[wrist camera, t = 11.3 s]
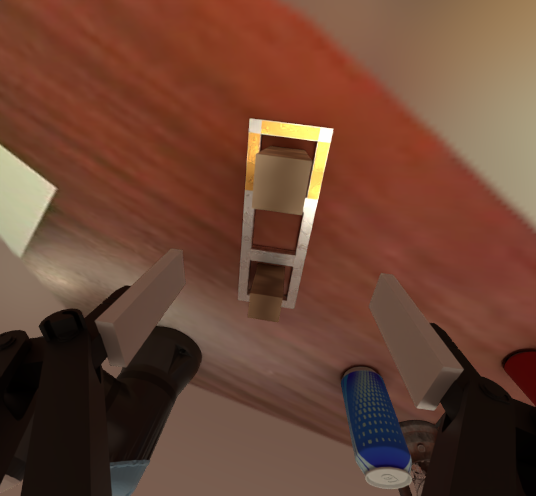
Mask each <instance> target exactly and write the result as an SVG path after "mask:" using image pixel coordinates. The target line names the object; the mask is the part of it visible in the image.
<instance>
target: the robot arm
mask: <svg viewBox="0 0 536 496" xmlns="http://www.w3.org/2000/svg"><path fill="white" fill-rule="evenodd" d="M185 284H186V283H185V273H184V262H183V251H182V250H179V249H170V250H169V251H168V252H167V253H166V254H165V255H164V256H163V257H162V258H161V259H160V260H159V261H158V262H156V263H155V264H154V265H153V266H152V267H151V268H150V269H149V270H148V271H147V272H146V273H145V274H144V275H143V276H142V277H141V278H140V279H139V280H137V281H136V282H135V283H134V284H133V285H132V286H124V287H122V288H120V289H118V290H116V291H115V292H114V293H113V294H111V295H110V296H109V297H108V299H106V300H105V301H103V302H102V304H100V305H99V306H98V307H97V308H96V309H94V310H93V311H92V312H91V313H90V314H89V315H88V316H87V317H85V318H84V317H83V314H82V312H81V311H80V310H78V309H66V310H61V311H59V312H56V313H53V314H52V315H50V316H48V317H46V318H45V319H44V320H43V321H42V322H41V323H40V325H39V328H40V330H41V332H42V334H43V336H41V337H38V338H30V339H29V337H28V335H27V334H26V332H25V331H21V330H15V331H9V332H5V333H3V334H0V493H2V492H4V491H6V490H8V489H11V488H13V487H15V486H17V485H18V484H19V483H20V482H21V481H22V479H23V478H24V479H23V485H22V491H21V496H130V495H131V494H132V493H133V492H134V490H135V489H136V487H137V485H138V483H139V481H140V479H141V477H142V475H143V473H144V471H145V469H146V467H147V466H148V465H149V462H150V458H151V455H152V453H153V451H154V449H155V446H156V444H157V442H158V440H159V437H160V435H161V433H162V430H163V428H164V426H165V423H166V421H167V419H168V416H169V414H170V412H171V410H172V407H173V405H174V403H175V401H176V398H177V396H178V395H179V394H180V393H181V391H182V390H183V389H184V387H186V385H187V384H188V383H189V382H190V380H191V379H192V378H193V377H194V376H195V374H196V373H197V371H198V368H199V366H200V363H201V359H202V357H201V352H200V350H199V348H198V346H197V345H196V344H195V343H194V342H193V341H192V340H191V339H190V338H189V337H187V336H186V335H184V334H182V333H181V332H178V331H176V330H173V329H170V328H165V327H155V326H156V325H157V323H158V322H159V321H160V319H161V318H162V316H163V315H164V313H165V312H166V311H167V309H168V308H169V306H170V305H171V304H172V302H173V301H174V299H175V298H176V297H177V295H178V294H179V292H180V291H181V289H182V288H183V287H184V285H185ZM369 308H370V310H371V312H372V314H373V316H374V319H375V321H376V323H377V325H378V327H379V329H380V331H381V334H382V336H383V338H384V340H385V342H386V344H387V346H388V349H389V351H390V353H391V355H392V357H393V359H394V361H395V364H396V366H397V368H398V370H399V372H400V374H401V376H402V378H403V381H404V383H405V385H406V387H407V389H408V391H409V393H410V396H411V398H412V400H413V402H414V404H415V406H416V408H420V409H427V410H435V409H436V407H437V406H438V404H439V403H440V402H441V404H442V406H443V408H444V409H445V411H446V412H445V413H444V414H443V415H442V417H441V418H440V419H439V421H438V422H437V423H436V425H435V427H437V428H438V427H439V430H438V433H437V437H436V441H435V445H434V448H433V452H432V456H431V460H430V463H429V467H428V471H427V475H426V478H425V482H424V486H423V490H422V493H421V496H536V406H535V407H534V406H531V405H528V404H526V403H523V402H521V401H518V400H515V399H513V398H511V396H510V395H509V394H508V392H506V391H505V390H504V389H503V388H502V387H501V386H500V385H498V384H497V383H495V382H493V381H492V380H490V379H487V378H485V377H481V376H480V375H479V373H478V372H477V371H476V370H475V368H474V367H473V366H472V365H471V363H470V362H469V361H468V360H467V358H466V357H465V356H464V355H463V353H462V352H461V351H460V350H459V349H458V347H457V346H456V345H455V343H454V342H452V340H451V338H450V337H449V336H448V335H447V333H446V332H445V331H444V330H443V329H441V328H440V327H439V326H438V325H436V324H435V323H429V322H428V321H427V319H426V318H425V317H424V315H423V314H422V313H421V311H420V310H419V309H418V307H417V306H416V305H415V303H414V302H413V301H412V299H411V298H410V297H409V295H408V294H407V293H406V291H405V290H404V289H403V287H402V286H401V285H400V283H399V282H398V281H397V279H396V278H395V277H394V275H391V274H383V273H381V274H380V277H379V280H378V283H377V285H376V288H375V291H374V293H373V296H372V299H371V302H370V304H369ZM107 357H108V360H109V363H110V365H111V366H119V367H123V368H122V371H121V373H120V374H119V376H118V377H117V378H114V377H113V376H112V375H110V374H109V373H107V372H106V371H105V370H103V369H102V366H101V364H102V362H103V361H104V360H105V359H106V358H107Z"/></svg>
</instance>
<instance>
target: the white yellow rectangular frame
mask: <svg viewBox="0 0 536 496" xmlns="http://www.w3.org/2000/svg"><path fill="white" fill-rule="evenodd" d="M332 133H333V129H330V128H322V127H314V126H306V125H298V124H291V123H283V122H275V121H267V120H259V119H251V118H250V122H249V137H248V152H247V168H246V183H245V198H244V213H243V228H242V243H241V259H240V274H239V289H238V300H241V301H247V302H249V298H250V291H251V290H249V289H248V287H249V276H250V265H251V260H253V261H259V262H266V263H273V264H279V265H286V266H293V267H292V272H291V278H290V283H289V288H288V293H287V295H283V300H282V305H281V307H285V308H291V309H294V307H295V302H296V298H297V293H298V289H299V284H300V279H301V275H302V270H303V266H304V261H305V257H306V252H307V247H308V243H309V238H310V234H311V229H312V225H313V220H314V215H315V211H316V206H317V202H318V197H319V193H320V188H321V183H322V179H323V174H324V170H325V165H326V161H327V156H328V151H329V147H330V142H331V138H332ZM262 134H265V135H273V136H281V137H289V138H297V139H304V140H312V141H317V143H316V148H315V153H314V158H313V164H312V169H311V174H310V179H309V184H308V189H307V195H306V197H305V202H304V207H303V215H302V221H301V226H300V231H299V236H298V241H297V246H296V251H291V250H285V249H278V248H271V247H264V246H258V245H252V243H253V232H254V221H255V210H256V209H253V208H252V196H253V184H254V172H255V160H256V154H257V153H258V152H260V151H261V144H262Z"/></svg>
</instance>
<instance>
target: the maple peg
mask: <svg viewBox="0 0 536 496" xmlns="http://www.w3.org/2000/svg"><path fill="white" fill-rule="evenodd" d="M311 166H312V160H311V159H310V157H309V156H308V154H307V153H306V151H305V150H299V149H291V148H283V147H276V146H270V147H268V148H266V149H264V150H262V151H260V152H258V153H257V154H256V160H255V172H254V184H253V196H252V208H253V209H261V210H268V211H275V212H282V213H289V214H296V215H302V212H303V207H304V202H305V197H306V192H307V186H308V181H309V176H310V171H311Z"/></svg>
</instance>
